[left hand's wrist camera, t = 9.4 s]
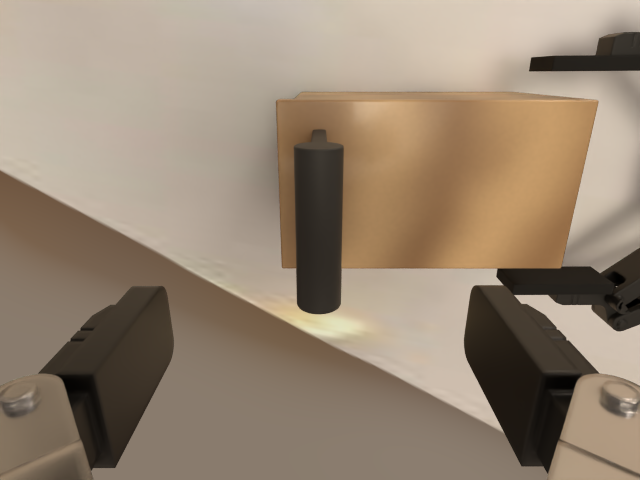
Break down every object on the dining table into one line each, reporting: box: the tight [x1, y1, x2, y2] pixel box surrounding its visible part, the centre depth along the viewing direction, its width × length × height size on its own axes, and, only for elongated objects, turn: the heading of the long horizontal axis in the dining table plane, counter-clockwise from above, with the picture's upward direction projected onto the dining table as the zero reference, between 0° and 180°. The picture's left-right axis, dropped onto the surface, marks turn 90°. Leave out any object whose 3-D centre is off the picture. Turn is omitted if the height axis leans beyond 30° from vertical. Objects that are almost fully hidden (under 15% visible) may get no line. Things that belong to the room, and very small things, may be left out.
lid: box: [276, 99, 598, 314], centre depth 20 cm, size 16×9×8 cm, turn 90°
